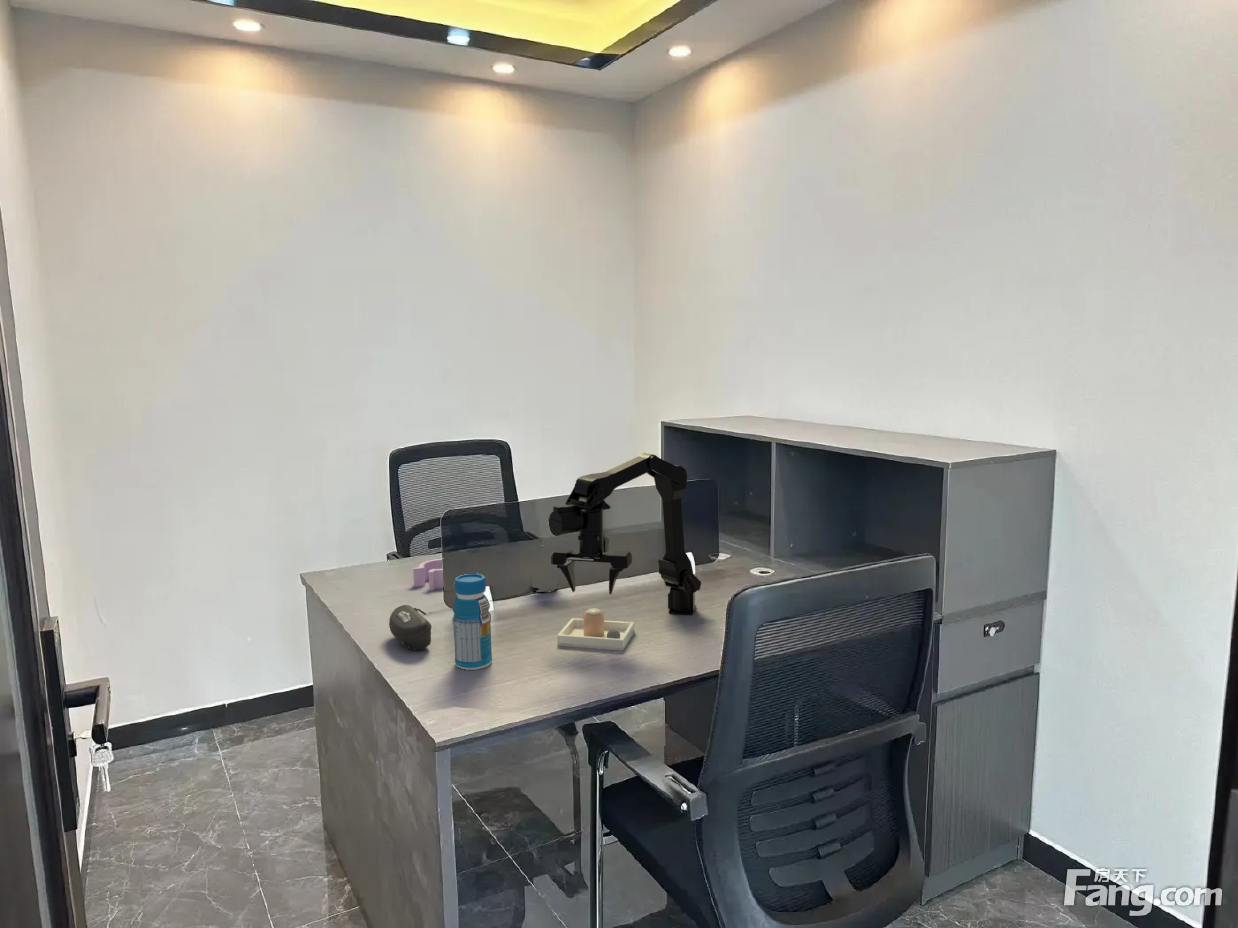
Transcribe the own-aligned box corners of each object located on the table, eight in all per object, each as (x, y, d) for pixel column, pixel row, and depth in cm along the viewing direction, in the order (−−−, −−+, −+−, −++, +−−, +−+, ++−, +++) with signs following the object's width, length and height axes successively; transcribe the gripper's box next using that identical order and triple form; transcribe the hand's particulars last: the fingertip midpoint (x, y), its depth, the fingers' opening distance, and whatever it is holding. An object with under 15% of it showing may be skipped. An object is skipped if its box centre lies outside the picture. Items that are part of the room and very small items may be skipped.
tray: (634, 632, 193) (634, 622, 193) (623, 650, 182) (622, 640, 181) (572, 627, 197) (572, 617, 197) (557, 645, 186) (557, 635, 185)
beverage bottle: (459, 674, 170) (454, 585, 167) (451, 660, 178) (446, 574, 175) (497, 667, 174) (493, 579, 171) (487, 653, 181) (484, 570, 178)
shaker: (606, 631, 192) (606, 607, 191) (601, 638, 188) (600, 614, 187) (586, 629, 194) (586, 606, 193) (581, 637, 189) (580, 613, 188)
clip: (458, 573, 246) (456, 551, 245) (486, 579, 239) (485, 557, 238) (407, 590, 230) (406, 567, 229) (437, 597, 223) (436, 573, 222)
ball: (621, 640, 186) (621, 627, 186) (618, 645, 183) (618, 632, 183) (608, 639, 187) (608, 626, 187) (605, 644, 184) (605, 631, 184)
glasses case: (382, 635, 194) (380, 605, 193) (424, 627, 199) (423, 597, 198) (403, 659, 179) (402, 627, 177) (448, 650, 184) (446, 618, 183)
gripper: (636, 523, 192) (637, 585, 194) (564, 520, 196) (565, 580, 199) (626, 534, 181) (627, 599, 184) (549, 530, 186) (551, 594, 188)
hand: (592, 592), depth 189 cm, fingers open, 9 cm apart
